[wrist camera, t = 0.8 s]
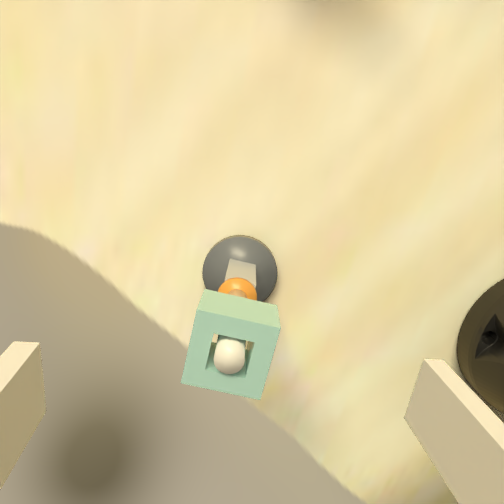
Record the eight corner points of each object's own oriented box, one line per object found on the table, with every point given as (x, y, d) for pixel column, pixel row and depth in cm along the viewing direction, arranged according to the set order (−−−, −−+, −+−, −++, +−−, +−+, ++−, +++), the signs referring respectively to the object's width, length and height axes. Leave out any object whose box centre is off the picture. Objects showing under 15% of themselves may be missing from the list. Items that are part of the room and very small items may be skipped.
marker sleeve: (277, 305, 21) (280, 328, 18) (259, 368, 22) (260, 400, 19) (204, 288, 21) (197, 309, 18) (190, 353, 22) (180, 383, 19)
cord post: (284, 244, 33) (310, 315, 18) (266, 311, 34) (276, 427, 19) (212, 227, 32) (176, 285, 17) (197, 295, 34) (152, 402, 19)
